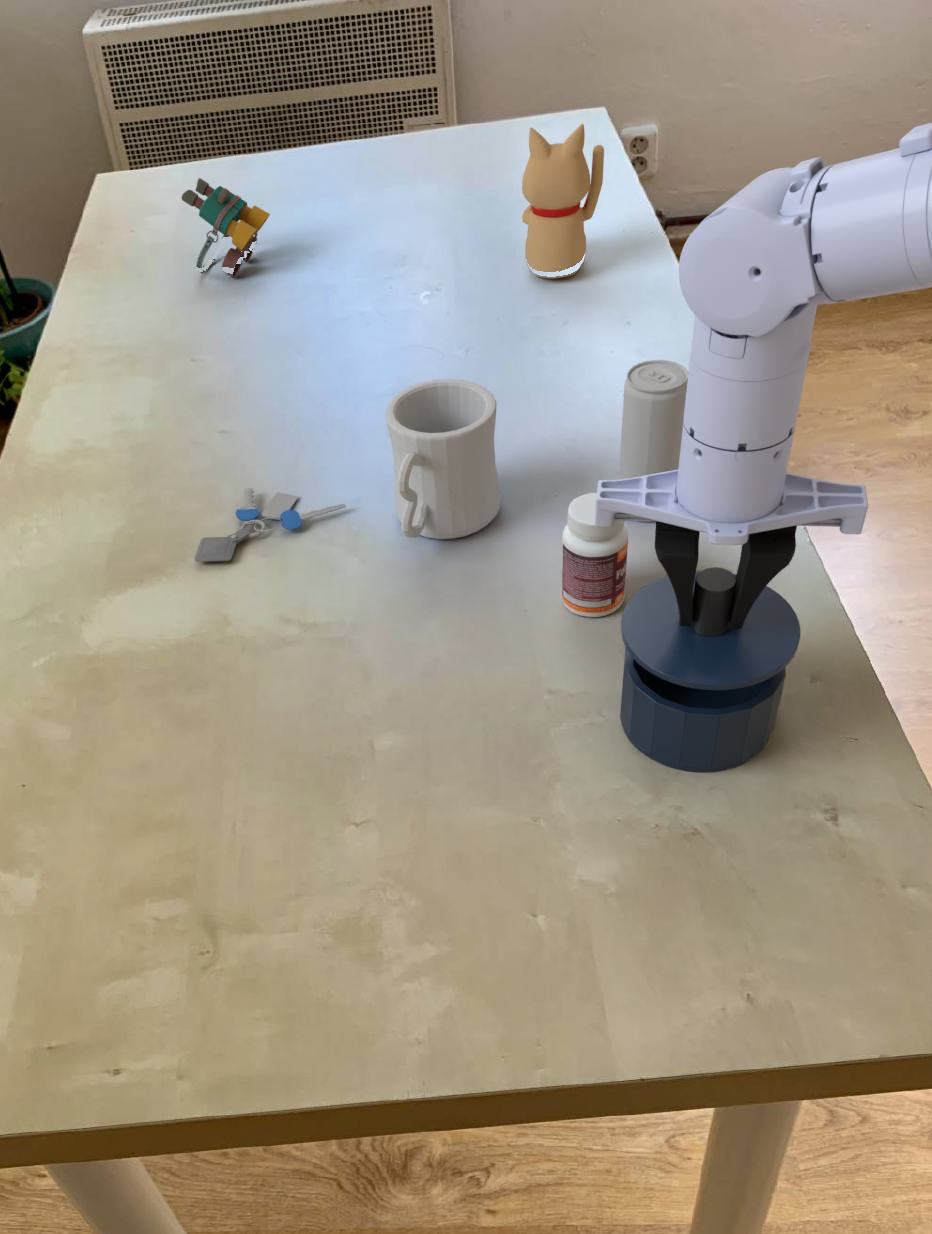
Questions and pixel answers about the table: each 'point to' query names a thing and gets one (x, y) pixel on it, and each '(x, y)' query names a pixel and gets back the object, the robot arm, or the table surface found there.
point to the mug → (444, 458)
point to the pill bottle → (592, 561)
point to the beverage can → (652, 418)
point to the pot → (697, 720)
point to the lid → (709, 634)
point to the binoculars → (227, 221)
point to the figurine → (559, 200)
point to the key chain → (276, 510)
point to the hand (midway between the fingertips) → (709, 617)
